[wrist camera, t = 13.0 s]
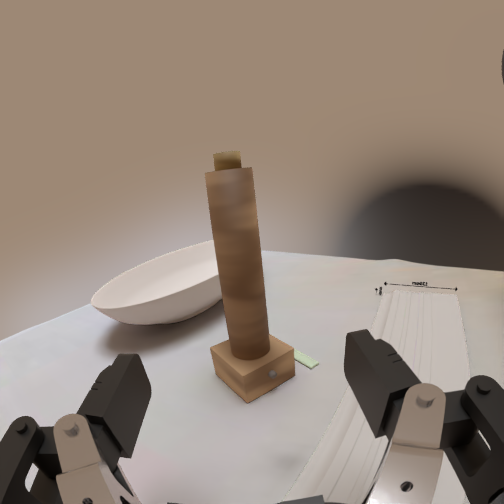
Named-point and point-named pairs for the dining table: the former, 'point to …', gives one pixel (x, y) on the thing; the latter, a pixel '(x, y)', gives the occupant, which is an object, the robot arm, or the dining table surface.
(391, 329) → the baseboard molding
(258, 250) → the brown peg on stand
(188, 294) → the bowl
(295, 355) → the tape mark
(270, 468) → the dining table surface
